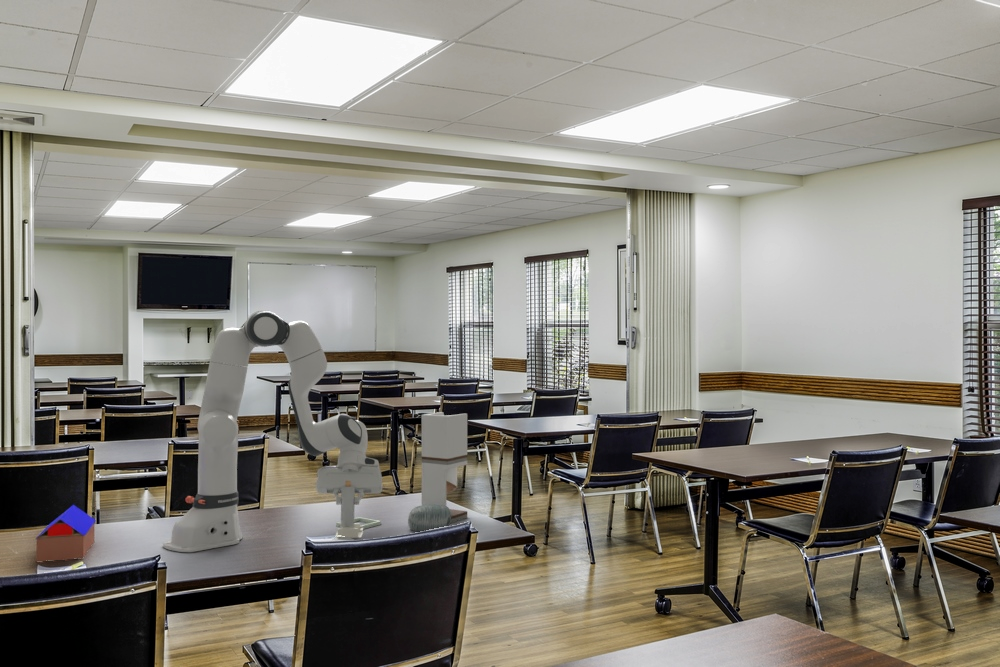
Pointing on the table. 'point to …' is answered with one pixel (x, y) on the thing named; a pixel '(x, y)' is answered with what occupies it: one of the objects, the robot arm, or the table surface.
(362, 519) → the tray
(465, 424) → the notched white block
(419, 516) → the grey furry rounded block
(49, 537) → the house
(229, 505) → the robot arm
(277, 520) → the table surface
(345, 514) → the gray bottle
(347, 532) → the white toy chair
